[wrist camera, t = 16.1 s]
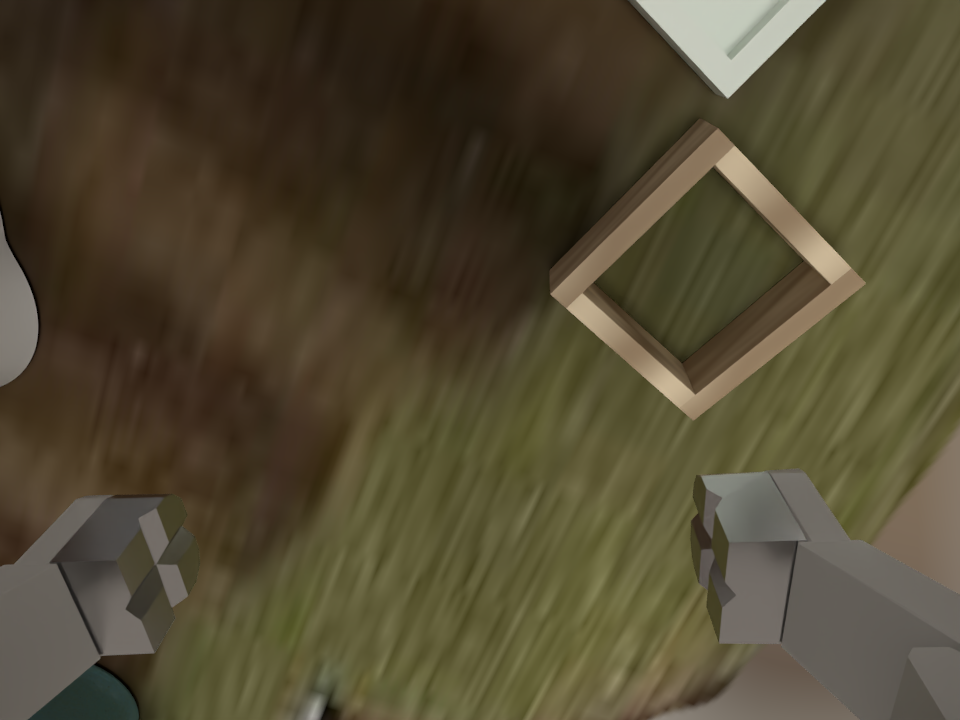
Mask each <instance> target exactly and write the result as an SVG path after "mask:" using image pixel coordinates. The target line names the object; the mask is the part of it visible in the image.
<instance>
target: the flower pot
mask: <svg viewBox="0 0 960 720" xmlns="http://www.w3.org/2000/svg"><path fill="white" fill-rule="evenodd" d="M28 720H139V713H138V708H137V705H136V702H135V700H134V698H133V696H132V695H131V693H130V692H129V690H128V689H127V688H126V687H125V686H124V685H123V684H122V683H121V682H120V681H119V680H118V679H117V678H115V677H114V676H113V675H111V674H110V673H108V672H107V671H105V670H103V669H102V668H100V667H98V666H96V665H92V666H91V667H90V668H89V669H87V670H86V671H85V672H84V673H83V674H82V675H80V676H79V677H78V678H77V679H76V680H74V681H73V682H72V683H71V684H70V685H68V686H67V687H66V688H65V689H64V690H62V691H61V692H60V693H59V694H58V695H56V696H55V697H54V698H53V699H52V700H50V701H49V702H48V703H47V704H46V705H44V706H43V707H42V708H41V709H40V710H39V711H37V712H36V713H35V714H34V715H33V716H31V717H30V718H29V719H28Z"/></svg>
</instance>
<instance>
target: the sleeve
mask: <svg viewBox="0 0 960 720" xmlns="http://www.w3.org/2000/svg"><path fill="white" fill-rule="evenodd" d="M712 167H713V168H714V169H715V170H716V171H717V172H718V173H719V174H720V175H721V176H722V177H723V178H724V179H725V180H726V181H727V182H728V183H729V184H730V185H731V186H732V187H733V188H734V189H735V190H736V191H737V192H738V193H739V194H740V195H741V196H742V197H743V199H744V200H745V201H746V202H747V203H748V204H749V205H750V206H751V207H752V208H753V209H754V210H755V211H756V212H757V213H758V214H759V215H760V216H761V217H762V218H763V219H764V220H765V221H766V222H767V223H768V224H769V225H770V226H771V227H772V228H773V229H774V230H775V231H776V232H777V233H778V234H779V235H780V236H781V238H782V239H783V240H784V241H785V242H786V243H787V244H788V245H789V246H790V247H791V248H792V249H793V250H794V251H795V252H796V253H797V254H798V255H799V256H800V257H801V258H802V259H803V260H804V261H803V262H802V263H801V264H800V265H798V266H797V267H796V268H795V269H794V270H793V271H791V272H790V273H789V274H788V275H787V276H785V277H784V278H783V279H782V280H781V281H779V282H778V283H777V284H776V285H775V286H774V287H772V288H771V289H770V290H769V291H768V292H766V293H765V294H764V295H763V296H762V297H760V298H759V299H758V300H757V301H756V302H755V303H753V304H752V305H751V306H750V307H749V308H747V309H746V310H745V311H744V312H743V313H741V314H740V315H739V316H738V317H737V318H736V319H734V320H733V321H732V322H731V323H730V324H728V325H727V326H726V327H725V328H724V329H723V330H721V331H720V332H719V333H718V334H717V335H715V336H714V337H713V338H712V339H711V340H709V341H708V342H707V343H706V344H705V345H704V346H702V347H701V348H700V349H699V350H698V351H696V352H695V353H694V354H693V355H692V356H690V357H689V358H688V359H687V360H686V361H685V362H683V363H681V362H680V361H679V360H678V359H677V358H676V357H675V356H673V355H672V354H671V353H670V352H669V351H668V350H667V349H666V348H665V347H663V346H662V345H661V344H660V343H659V342H658V341H657V340H656V339H655V338H654V337H652V336H651V335H650V334H649V333H648V332H647V331H646V330H645V329H644V328H643V327H641V326H640V325H639V324H638V323H637V322H636V321H635V320H634V319H633V318H632V317H630V316H629V315H628V314H627V313H626V312H625V311H624V310H623V309H622V308H621V307H619V306H618V305H617V304H616V303H615V302H614V301H613V300H612V299H611V298H610V297H608V296H607V295H606V294H605V293H604V292H603V291H602V290H601V289H600V288H599V287H597V286H596V285H595V284H594V283H593V282H594V281H595V280H596V279H597V278H598V277H599V276H600V275H601V274H602V273H603V272H604V271H605V270H607V269H608V268H609V267H610V266H611V265H612V264H613V263H614V262H615V261H616V260H617V259H618V258H619V257H620V256H621V255H622V254H623V253H624V252H625V251H626V250H627V249H628V248H629V247H630V246H631V245H632V244H633V243H634V242H636V241H637V240H638V239H639V238H640V237H641V236H642V235H643V234H644V233H645V232H646V231H647V230H648V229H649V228H650V227H651V226H652V225H653V224H654V223H655V222H656V221H657V220H658V219H659V218H660V217H661V216H662V215H663V214H665V213H666V212H667V211H668V210H669V209H670V208H671V207H672V206H673V205H674V204H675V203H676V202H677V201H678V200H679V199H680V198H681V197H682V196H683V195H684V194H685V193H686V192H687V191H688V190H689V189H690V188H691V187H692V186H694V185H695V184H696V183H697V182H698V181H699V180H700V179H701V178H702V177H703V176H704V175H705V174H706V173H707V172H708V171H709V170H710V169H711V168H712ZM549 274H550V294H551V295H552V296H553V297H554V298H555V299H556V300H557V301H559V302H560V303H561V304H562V305H563V306H564V307H565V308H566V309H568V310H569V311H570V312H571V313H572V314H573V315H574V316H576V317H577V318H578V319H579V320H580V321H581V322H582V323H583V324H585V325H586V326H587V327H588V328H589V329H590V330H591V331H593V332H594V333H595V334H596V335H597V336H598V337H599V338H600V339H602V340H603V341H604V342H605V343H606V344H607V345H608V346H609V347H611V348H612V349H613V350H614V351H615V352H616V353H617V354H619V355H620V356H621V357H622V358H623V359H624V360H625V361H626V362H628V363H629V364H630V365H631V366H632V367H633V368H634V369H636V370H637V371H638V372H639V373H640V374H641V375H642V376H643V377H645V378H646V379H647V380H648V381H649V382H650V383H651V384H653V385H654V386H655V387H656V388H657V389H658V390H659V391H660V392H662V393H663V394H664V395H665V396H666V397H667V398H668V399H669V400H671V401H672V402H673V403H674V404H675V405H676V406H677V407H679V408H680V409H681V410H682V411H683V412H684V413H685V414H686V415H688V416H689V417H690V418H691V419H692V420H695V419H696V418H697V417H698V416H700V415H701V414H702V413H703V412H705V411H706V410H707V409H709V408H710V407H711V406H712V405H714V404H715V403H716V402H717V401H719V400H720V399H721V398H722V397H724V396H725V395H726V394H727V393H729V392H730V391H731V390H732V389H734V388H735V387H736V386H738V385H739V384H740V383H741V382H743V381H744V380H745V379H746V378H748V377H749V376H750V375H751V374H753V373H754V372H755V371H756V370H758V369H759V368H760V367H761V366H763V365H764V364H765V363H766V362H768V361H769V360H770V359H772V358H773V357H774V356H775V355H777V354H778V353H779V352H780V351H782V350H783V349H784V348H785V347H787V346H788V345H789V344H790V343H792V342H793V341H794V340H795V339H797V338H798V337H799V336H801V335H802V334H803V333H804V332H806V331H807V330H808V329H809V328H811V327H812V326H813V325H814V324H816V323H817V322H818V321H819V320H821V319H822V318H823V317H824V316H826V315H827V314H828V313H829V312H831V311H832V310H833V309H835V308H836V307H837V306H838V305H840V304H841V303H842V302H843V301H845V300H846V299H847V298H848V297H850V296H851V295H852V294H853V293H855V292H856V291H857V290H858V289H860V288H861V287H862V286H863V285H865V284H866V283H865V282H864V281H863V280H862V279H861V278H860V277H859V276H858V274H857V273H856V272H855V271H854V270H853V269H852V268H851V267H850V266H849V265H848V264H847V263H846V262H845V261H844V260H843V259H842V258H841V257H840V256H839V255H838V253H837V252H836V251H835V250H834V249H833V248H832V247H831V246H830V245H829V244H828V243H827V242H826V241H825V240H824V239H823V238H822V237H821V236H820V235H819V234H818V232H817V231H816V230H815V229H814V228H813V227H812V226H811V225H810V224H809V223H808V222H807V221H806V220H805V219H804V218H803V217H802V216H801V215H800V214H799V213H798V211H797V210H796V209H795V208H794V207H793V206H792V205H791V204H790V203H789V202H788V201H787V200H786V199H785V198H784V197H783V196H782V195H781V194H780V193H779V192H778V190H777V189H776V188H775V187H774V186H773V185H772V184H771V183H770V182H769V181H768V180H767V179H766V178H765V177H764V176H763V175H762V174H761V173H760V172H759V171H758V169H757V168H756V167H755V166H754V165H753V164H752V163H751V162H750V161H749V160H748V159H747V158H746V157H745V156H744V155H743V154H742V153H741V152H740V151H739V150H738V148H737V147H736V146H735V145H734V144H733V143H732V142H731V141H730V140H729V139H728V138H727V137H726V136H725V135H724V134H723V133H722V132H721V131H720V130H719V129H718V128H717V127H715V126H713V125H712V124H710V123H708V122H706V121H704V120H703V119H701V118H700V119H699V120H698V121H697V122H696V123H695V124H694V125H693V126H692V127H691V128H690V129H689V130H688V131H687V132H686V133H685V134H684V135H683V136H682V137H681V138H680V139H679V140H678V141H677V142H676V143H675V144H674V145H673V146H672V147H671V148H670V149H669V150H668V151H667V152H666V153H665V154H664V155H663V156H662V157H661V158H660V159H659V160H658V161H657V162H656V163H655V164H654V165H653V166H652V167H651V168H650V169H649V170H648V171H647V172H646V173H645V174H644V175H643V176H642V177H641V178H640V179H639V180H638V181H637V182H636V183H635V184H634V185H633V186H632V187H631V188H630V189H629V190H628V191H627V192H626V193H625V194H624V195H623V196H622V197H621V198H620V199H619V200H618V201H617V203H616V204H615V205H614V206H613V207H612V208H611V209H610V210H609V211H608V212H607V213H606V214H605V215H604V216H603V217H602V218H601V219H600V220H599V221H598V222H597V223H596V224H595V225H594V226H593V227H592V228H591V229H590V230H589V231H588V232H587V233H586V234H585V235H584V236H583V237H582V238H581V239H580V240H579V241H578V242H577V243H576V244H575V245H574V246H573V247H572V248H571V249H570V250H569V251H568V252H567V253H566V254H565V255H564V256H563V257H562V258H561V259H560V260H559V261H558V262H557V263H556V264H555V265H554V266H553V267H552V268H551V269H550V270H549Z"/></svg>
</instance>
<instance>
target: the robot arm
mask: <svg viewBox="0 0 960 720" xmlns="http://www.w3.org/2000/svg"><path fill="white" fill-rule="evenodd" d="M37 339H38V316H37V310H36V305H35V301H34V298H33V294H32V292H31V289H30V286H29V284H28V282H27V279H26V277H25V275H24V274H23V272H22V270H21V268H20V266H19V265H18V263H17V261H16V259H15V258H14V256H13V254H12V252H11V250H10V248H9V246H8V244H7V242H6V239H5V235H4V228H3V223H2V218H1V213H0V387H1V386H3V385H5V384H7V383H9V382H11V381H12V380H14V379H15V378H16V377H18V376H19V375H20V374H21V373H22V372H23V371H24V369H25V368H26V367H27V365H28V364H29V362H30V360H31V359H32V356H33V354H34V351H35V348H36V344H37ZM693 499H694V502H695V505H696V507H697V510H698V514H697V515H696V516H695V517H694V518H693V519H692V521H691V538H690V539H691V551H692V559H693V564H694V569H695V572H696V576H697V579H698V582H699V584H700V585H702V586H703V587H704V588H706V589H707V590H708V594H707V609H708V612H709V615H710V618H711V621H712V624H713V627H714V630H715V633H716V636H717V639H718V642H719V643H740V644H782V646H781V647H782V648H783V649H784V650H785V651H786V652H788V653H789V654H790V655H791V656H792V657H793V658H794V659H795V660H796V661H797V662H798V663H799V664H800V665H801V666H803V667H804V668H805V669H806V670H807V671H808V672H809V673H810V674H811V675H812V676H814V678H815V679H817V680H818V681H819V682H820V683H821V684H822V685H823V686H824V687H825V688H826V689H827V690H828V691H829V692H831V693H832V694H833V695H834V696H835V697H836V698H837V699H838V700H839V701H840V702H841V703H842V704H844V705H845V706H846V707H847V708H848V709H849V710H850V711H851V712H852V713H853V714H855V716H857V718H859V719H860V720H960V594H958V593H956V592H954V591H952V590H951V589H949V588H947V587H945V586H943V585H942V584H940V583H938V582H936V581H934V580H933V579H931V578H929V577H927V576H925V575H923V574H922V573H920V572H918V571H916V570H915V569H913V568H911V567H909V566H907V565H906V564H903V563H902V562H900V561H898V560H896V559H895V558H893V557H891V556H889V555H887V554H886V553H884V552H882V551H880V550H878V549H877V548H875V547H873V546H871V545H869V544H867V543H866V542H864V541H862V540H850V539H849V537H848V536H847V534H846V533H845V531H844V530H843V528H842V527H841V525H840V524H839V522H838V521H837V519H836V518H835V516H834V515H833V513H832V512H831V510H830V509H829V507H828V506H827V504H826V503H825V501H824V500H823V498H822V497H821V496H820V494H819V493H818V491H817V490H816V488H815V487H814V485H813V484H812V482H811V481H810V479H809V478H808V476H807V475H806V473H805V472H804V471H802V470H800V469H785V470H770V471H764V472H751V473H729V474H707V475H696V478H695V481H694V489H693ZM186 517H187V512H186V510H185V507H184V505H183V502H182V500H181V498H179V497H177V496H175V495H174V494H138V495H114V496H113V495H97V496H85V497H82V498H79V499H76V500H75V501H74V502H73V503H72V504H71V505H70V506H69V507H68V509H67V510H66V511H65V512H64V513H63V514H62V515H61V516H60V517H59V518H58V519H57V520H56V521H55V522H54V523H53V524H52V525H51V526H50V527H49V528H48V529H47V530H46V532H45V533H44V534H43V535H42V536H41V537H40V538H39V539H38V540H37V541H36V542H35V543H34V544H33V545H32V546H31V547H30V548H29V549H28V550H27V551H26V552H25V553H24V555H23V556H22V557H21V558H20V559H19V560H18V561H17V562H16V563H15V564H14V565H3V566H1V567H0V720H28V719H29V718H30V717H31V716H33V715H34V714H35V713H36V712H37V711H39V710H40V709H41V708H42V707H43V706H44V705H46V704H47V703H48V702H49V701H50V700H52V699H53V698H54V697H55V696H56V695H58V694H59V693H60V692H61V691H62V690H64V689H65V688H66V687H67V686H68V685H70V684H71V683H72V682H73V681H74V680H76V679H77V678H78V677H79V676H80V675H82V674H83V673H84V672H85V671H86V670H87V669H89V668H90V667H91V666H92V665H93V664H95V663H96V662H97V661H98V660H99V659H100V656H105V655H126V654H147V653H155V652H156V650H157V648H158V647H159V645H160V643H161V641H162V640H163V638H164V636H165V635H166V633H167V631H168V630H169V628H170V626H171V625H172V623H173V621H174V619H175V615H174V612H173V608H172V607H173V606H175V605H176V604H178V603H179V602H180V601H182V600H183V599H185V598H186V597H187V596H188V595H189V594H190V592H191V590H192V588H193V586H194V585H195V583H196V580H197V575H198V570H199V566H200V557H199V548H198V545H197V542H196V539H195V536H193V535H192V534H191V533H190V532H189V531H187V530H186V529H185V528H184V527H183V526H182V525H183V523H184V521H185V519H186Z"/></svg>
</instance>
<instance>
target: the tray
mask: <svg viewBox="0 0 960 720" xmlns="http://www.w3.org/2000/svg"><path fill="white" fill-rule="evenodd" d="M628 1H629V2H630V3H631V4H632V5H633V6H634V8H635V9H636V10H637V11H638V12H639V13H640V14H641V15H642V16H643V17H644V18H645V19H646V20H647V21H648V22H649V24H650V25H651V26H652V27H653V28H654V29H655V30H656V31H657V32H658V33H659V34H660V35H661V36H662V37H663V38H664V40H665V41H666V42H667V43H668V44H669V45H670V46H671V47H672V48H673V49H674V50H675V51H676V52H677V53H678V54H679V56H680V57H681V58H682V59H683V60H684V61H685V62H686V63H687V64H688V65H689V66H690V67H691V68H692V69H693V70H694V72H695V73H696V74H697V75H698V76H699V77H700V78H701V79H702V80H703V81H704V82H705V83H706V84H707V85H708V86H709V88H710V89H711V90H712V91H713V92H714V93H715V94H716V95H719V96H722V97H725V98H727V99H728V98H729V97H730V96H731V95H732V94H733V93H734V92H735V91H736V90H737V89H738V88H739V87H740V86H741V85H742V84H743V83H744V82H745V81H746V80H747V79H748V78H749V77H750V76H751V75H752V74H753V73H754V72H755V71H756V70H757V69H758V68H759V67H760V66H761V65H762V64H763V63H764V62H765V61H766V60H767V59H768V58H769V57H770V56H771V55H772V54H773V53H774V52H775V51H776V50H777V49H778V48H779V47H780V46H781V45H782V44H783V43H784V42H785V41H786V40H787V39H788V38H789V37H790V36H791V35H792V34H793V33H794V32H795V31H796V30H797V29H798V28H799V27H800V26H801V25H802V24H803V23H804V22H805V21H806V20H807V19H808V18H809V17H810V16H811V15H812V14H813V13H814V12H815V11H816V10H817V9H818V8H819V7H820V6H821V5H822V4H823V3H824V2H825V1H826V0H628Z"/></svg>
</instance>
